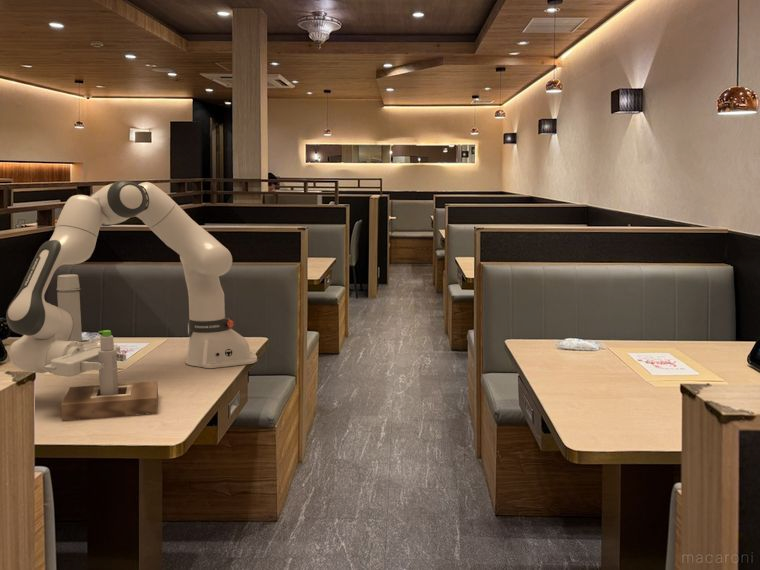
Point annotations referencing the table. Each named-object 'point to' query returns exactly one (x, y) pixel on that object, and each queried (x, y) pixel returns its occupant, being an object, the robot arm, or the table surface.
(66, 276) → the water bottle
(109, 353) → the bottle
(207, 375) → the table surface
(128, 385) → the socket board
